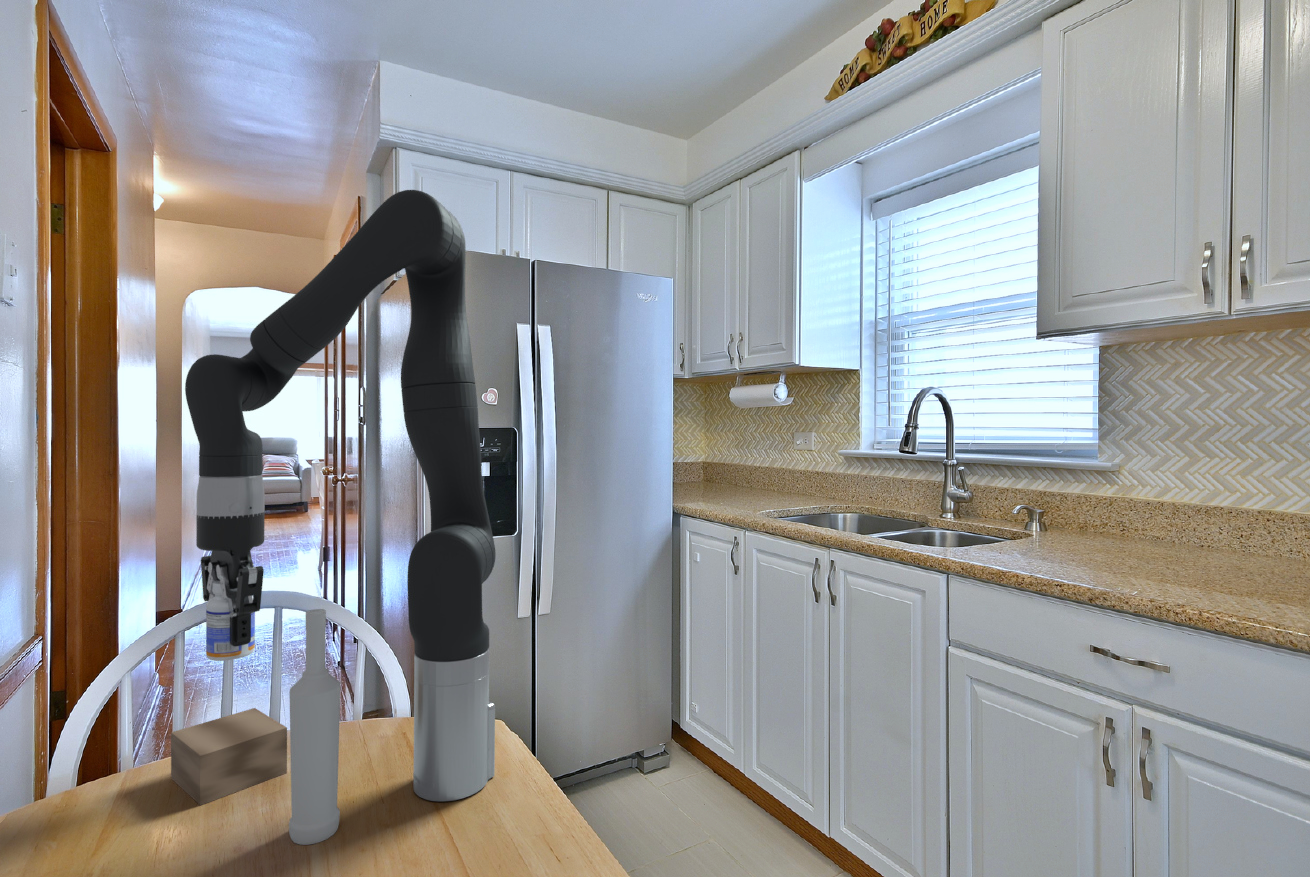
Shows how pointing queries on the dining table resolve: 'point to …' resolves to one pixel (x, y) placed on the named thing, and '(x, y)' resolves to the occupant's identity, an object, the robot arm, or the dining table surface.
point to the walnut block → (228, 754)
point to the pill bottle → (223, 629)
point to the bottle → (314, 742)
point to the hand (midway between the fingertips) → (230, 639)
